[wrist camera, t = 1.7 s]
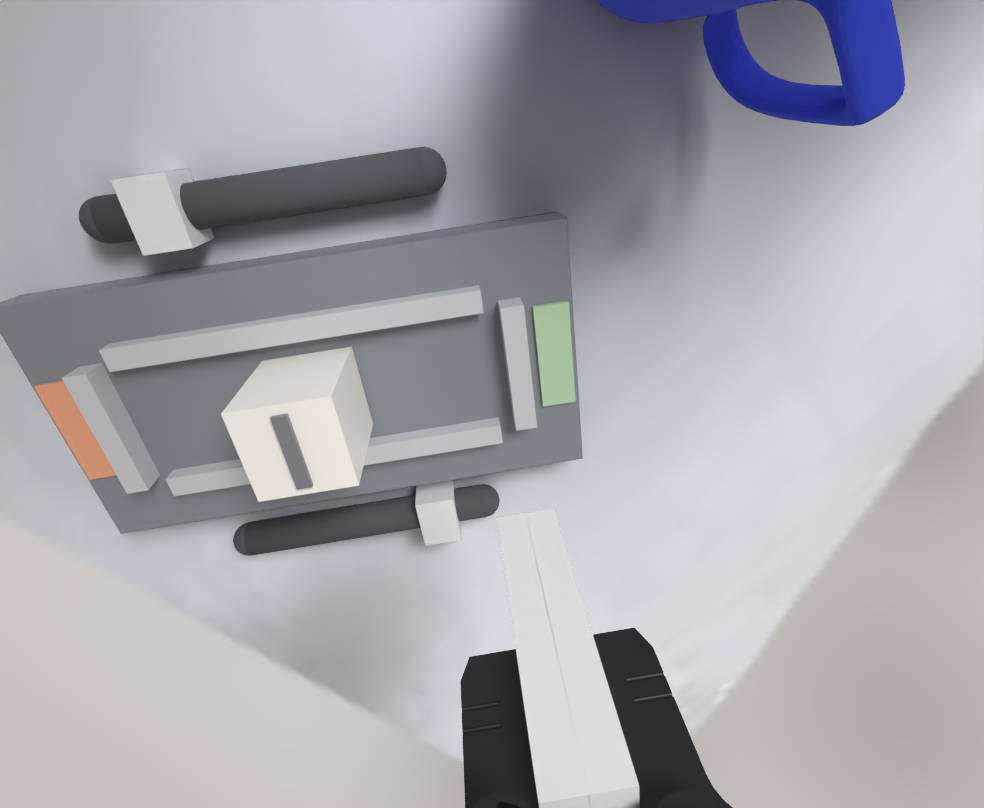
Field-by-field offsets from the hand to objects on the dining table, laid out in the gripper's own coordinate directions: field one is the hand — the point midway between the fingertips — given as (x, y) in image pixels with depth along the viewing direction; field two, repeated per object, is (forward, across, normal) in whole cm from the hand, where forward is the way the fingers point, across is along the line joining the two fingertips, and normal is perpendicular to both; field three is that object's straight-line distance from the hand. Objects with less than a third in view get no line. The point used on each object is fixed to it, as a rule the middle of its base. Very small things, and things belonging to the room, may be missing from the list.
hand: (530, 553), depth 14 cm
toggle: (+12, -8, 0) cm, 14 cm away
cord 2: (+14, -8, -8) cm, 18 cm away
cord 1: (+14, -8, +9) cm, 18 cm away
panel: (+14, -8, 0) cm, 16 cm away
